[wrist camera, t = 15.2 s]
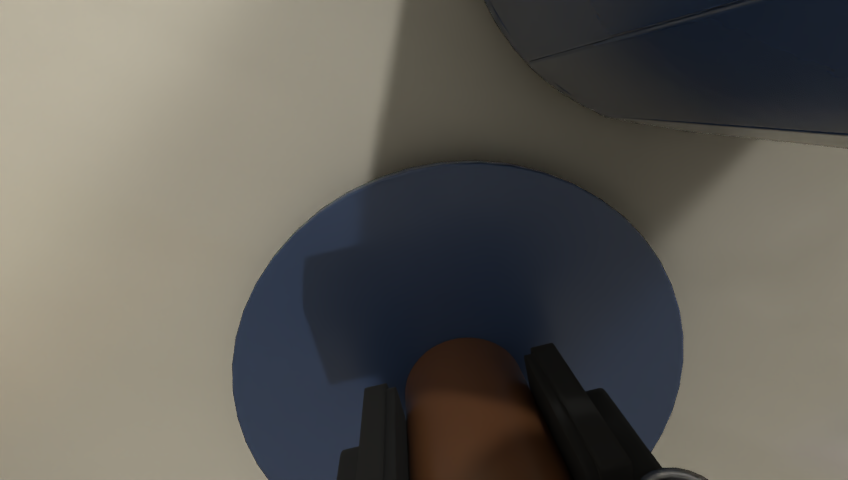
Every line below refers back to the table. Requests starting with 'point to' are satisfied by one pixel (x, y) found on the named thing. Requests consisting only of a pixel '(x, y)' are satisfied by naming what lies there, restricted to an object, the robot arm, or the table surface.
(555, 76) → the pot
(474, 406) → the lid
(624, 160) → the table surface
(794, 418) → the table surface
